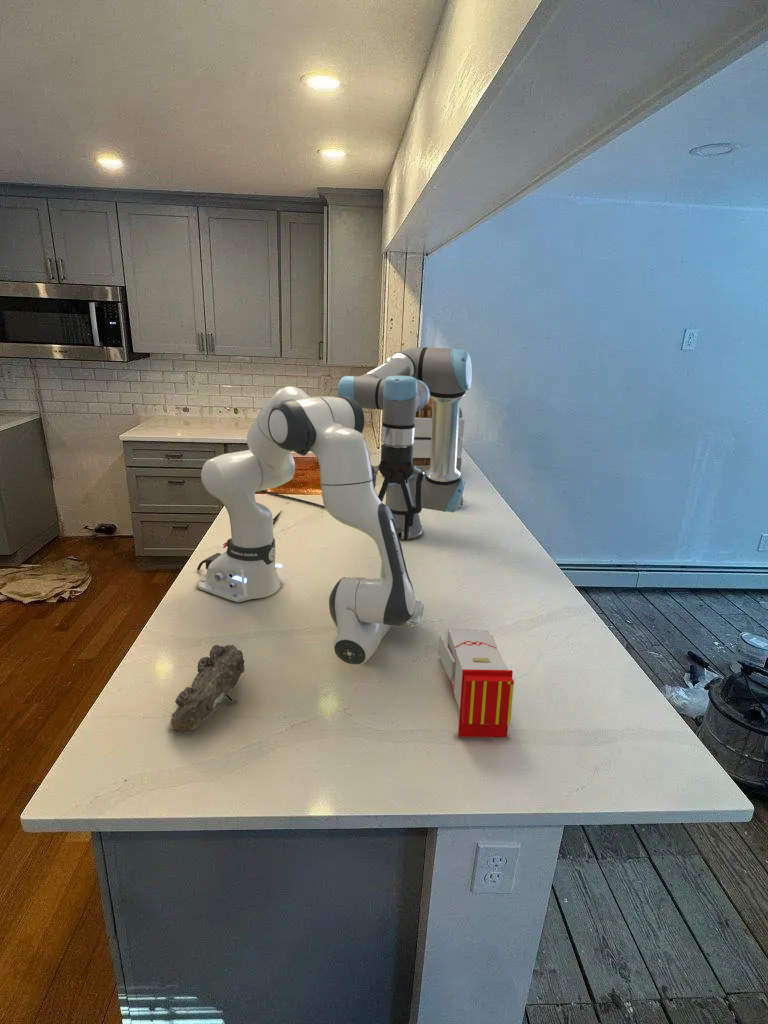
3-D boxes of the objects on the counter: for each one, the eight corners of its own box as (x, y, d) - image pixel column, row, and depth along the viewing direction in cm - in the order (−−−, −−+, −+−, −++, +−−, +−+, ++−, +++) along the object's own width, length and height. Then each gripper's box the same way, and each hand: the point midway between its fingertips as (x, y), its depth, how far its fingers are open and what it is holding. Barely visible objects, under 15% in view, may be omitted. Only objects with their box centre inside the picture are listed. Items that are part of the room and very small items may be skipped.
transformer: (382, 463, 289) (386, 382, 275) (445, 464, 293) (451, 384, 279) (390, 482, 257) (394, 392, 243) (460, 483, 261) (468, 394, 247)
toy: (488, 613, 130) (523, 677, 101) (484, 667, 133) (517, 744, 104) (435, 612, 130) (455, 676, 101) (432, 666, 133) (451, 743, 103)
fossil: (195, 646, 122) (244, 615, 117) (225, 676, 125) (275, 646, 120) (147, 725, 102) (204, 691, 98) (185, 758, 105) (242, 726, 100)
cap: (402, 534, 141) (403, 528, 141) (400, 541, 137) (400, 534, 137) (386, 532, 142) (386, 526, 142) (382, 539, 138) (383, 532, 138)
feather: (288, 505, 226) (290, 501, 226) (271, 529, 199) (273, 524, 199) (284, 503, 226) (287, 499, 225) (266, 526, 199) (269, 522, 199)
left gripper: (416, 614, 130) (430, 588, 142) (334, 597, 135) (354, 574, 148) (415, 638, 132) (429, 610, 144) (333, 621, 137) (353, 595, 150)
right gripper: (439, 444, 134) (432, 535, 141) (361, 437, 137) (359, 526, 145) (436, 451, 127) (428, 546, 135) (354, 444, 130) (351, 537, 138)
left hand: (390, 591), depth 146 cm, fingers closed on bottle, 5 cm apart
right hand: (392, 536), depth 140 cm, fingers open, 6 cm apart
